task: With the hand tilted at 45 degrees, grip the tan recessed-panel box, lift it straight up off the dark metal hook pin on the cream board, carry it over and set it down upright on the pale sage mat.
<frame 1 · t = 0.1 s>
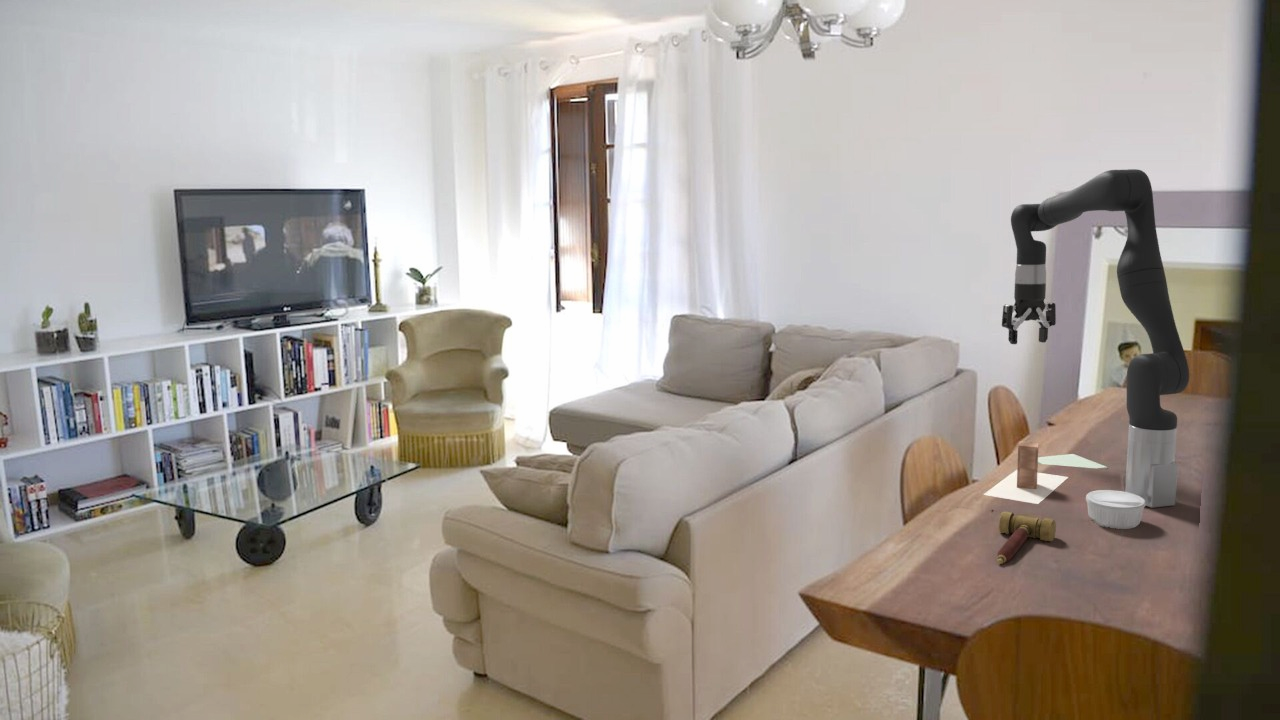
hand: (1028, 343, 247), 29 cm above the table, tool pointing down, fingers open, 8 cm apart
gavel: (1015, 551, 184), on the table
hook board: (1026, 489, 219), on the table
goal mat: (1067, 464, 238), on the table
ramekin: (1113, 523, 197), on the table
tan recessed-panel box: (1026, 485, 219), point 1 cm above the table, touching hook board
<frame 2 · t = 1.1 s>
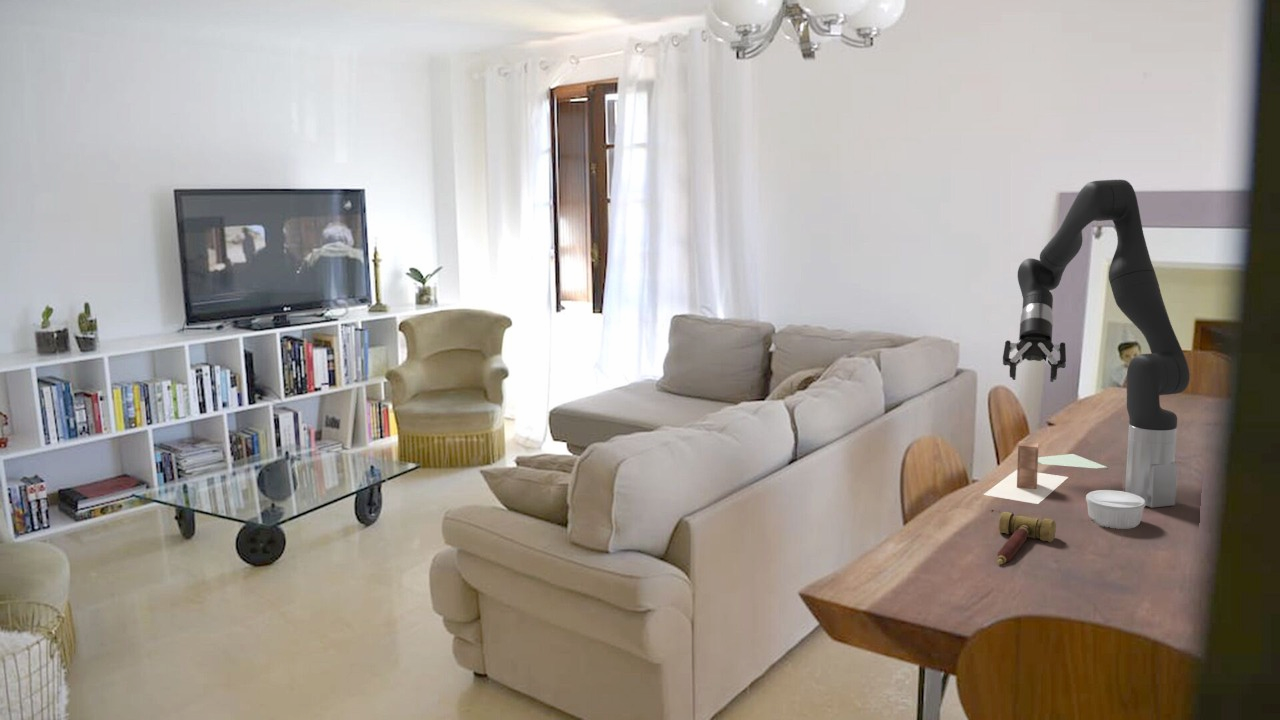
hand: (1032, 379, 227), 24 cm above the table, tool tilted 45°, fingers open, 8 cm apart
nothing on the table moved.
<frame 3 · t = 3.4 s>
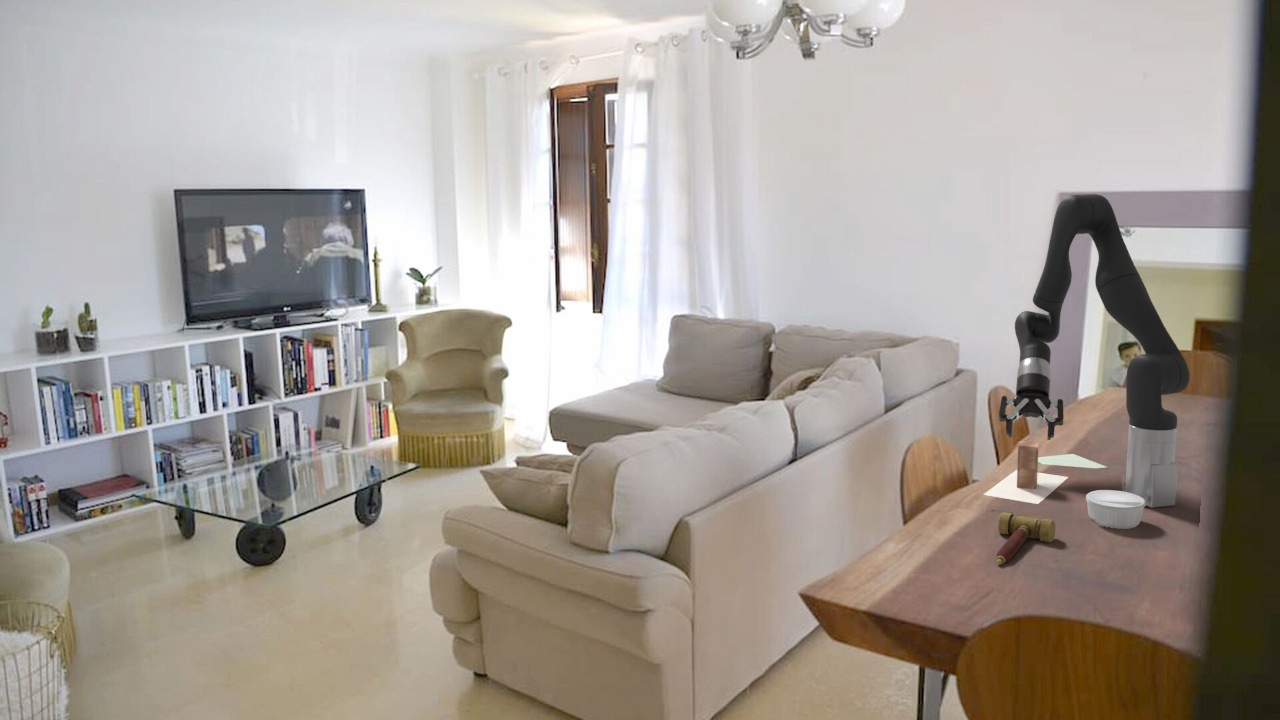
hand: (1029, 436, 222), 11 cm above the table, tool tilted 45°, fingers open, 8 cm apart
nothing on the table moved.
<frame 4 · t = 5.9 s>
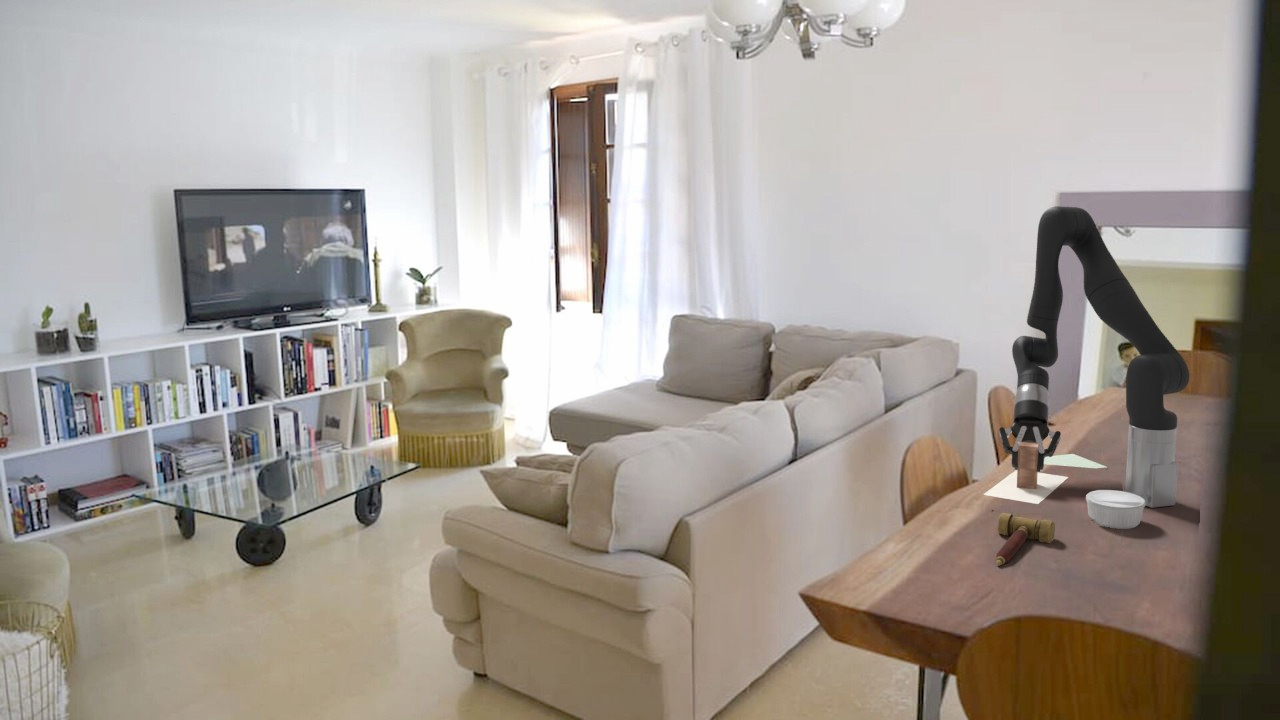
hand: (1027, 469, 216), 6 cm above the table, tool tilted 45°, fingers closed on tan recessed-panel box, 4 cm apart
tan recessed-panel box: (1026, 485, 219), point 1 cm above the table, touching gripper, hook board
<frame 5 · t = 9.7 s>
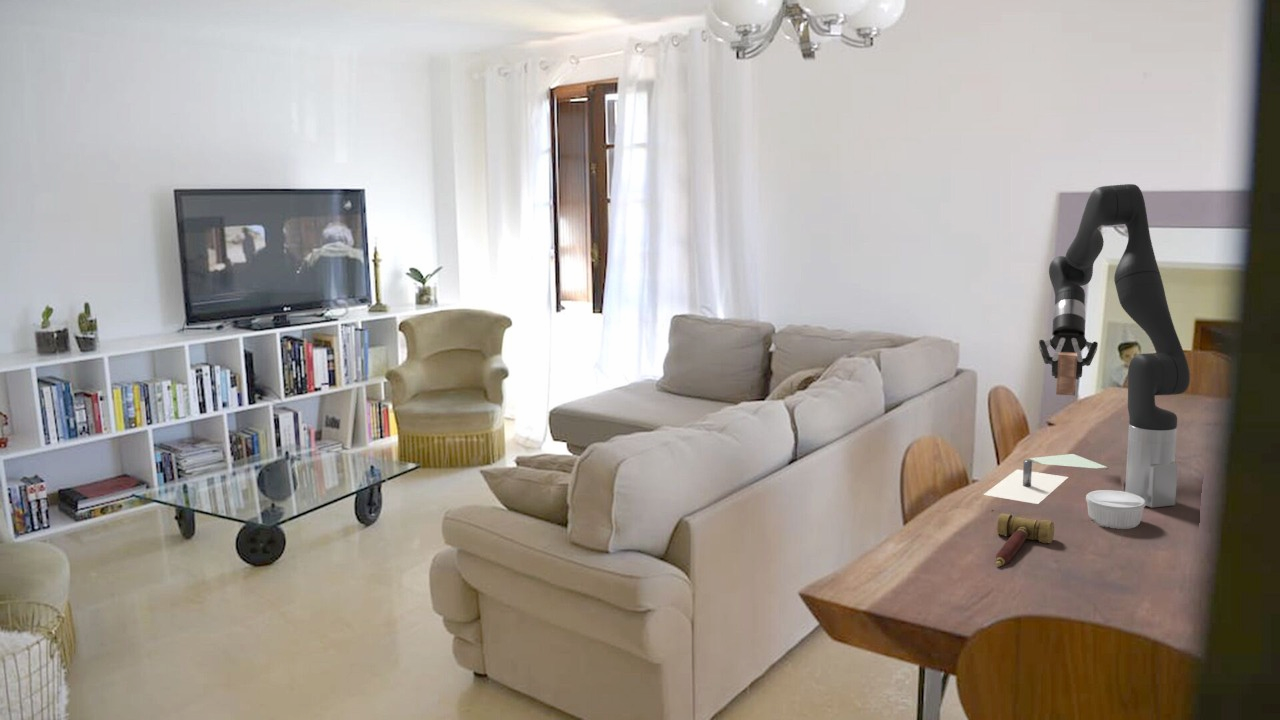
hand: (1066, 376, 231), 23 cm above the table, tool tilted 45°, fingers closed on tan recessed-panel box, 4 cm apart
tan recessed-panel box: (1065, 393, 233), point 19 cm above the table, touching gripper
when the fingers open (6 cm above the table, at t = 12.8 s): tan recessed-panel box drops 1 cm, resting on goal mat.
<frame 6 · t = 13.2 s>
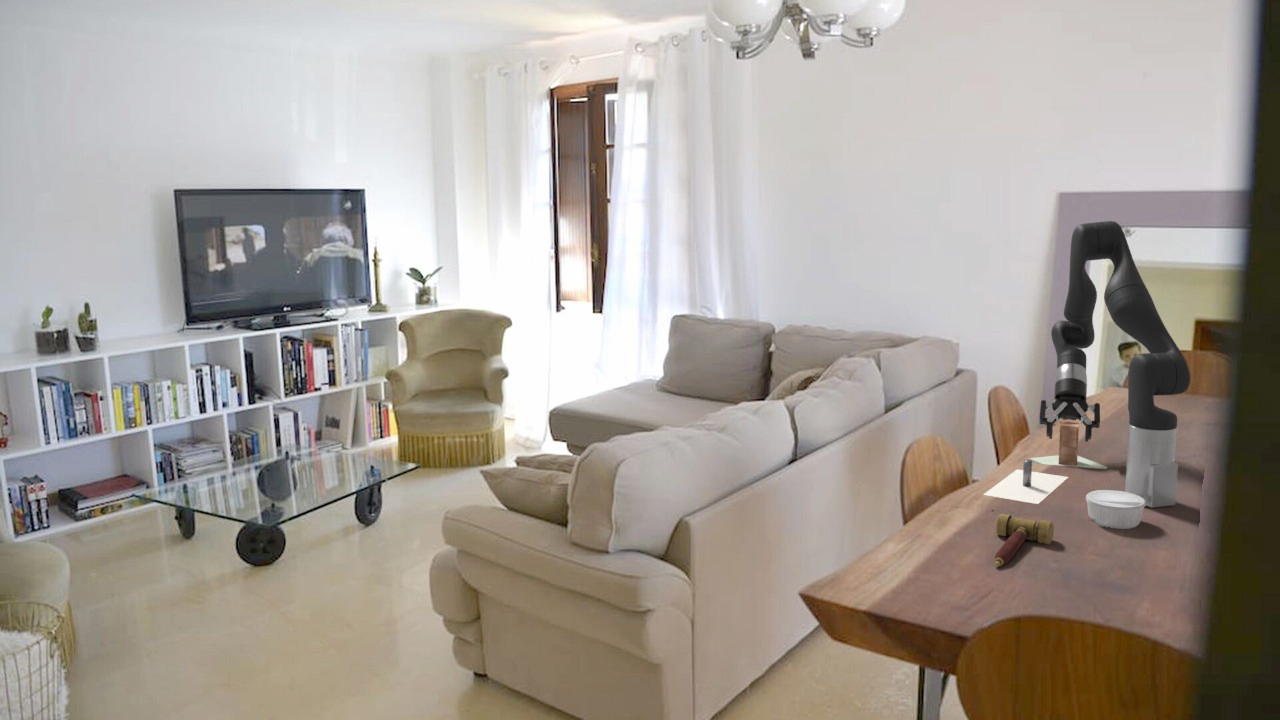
hand: (1068, 438, 235), 7 cm above the table, tool tilted 45°, fingers open, 8 cm apart
tan recessed-panel box: (1067, 462, 238), resting on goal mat
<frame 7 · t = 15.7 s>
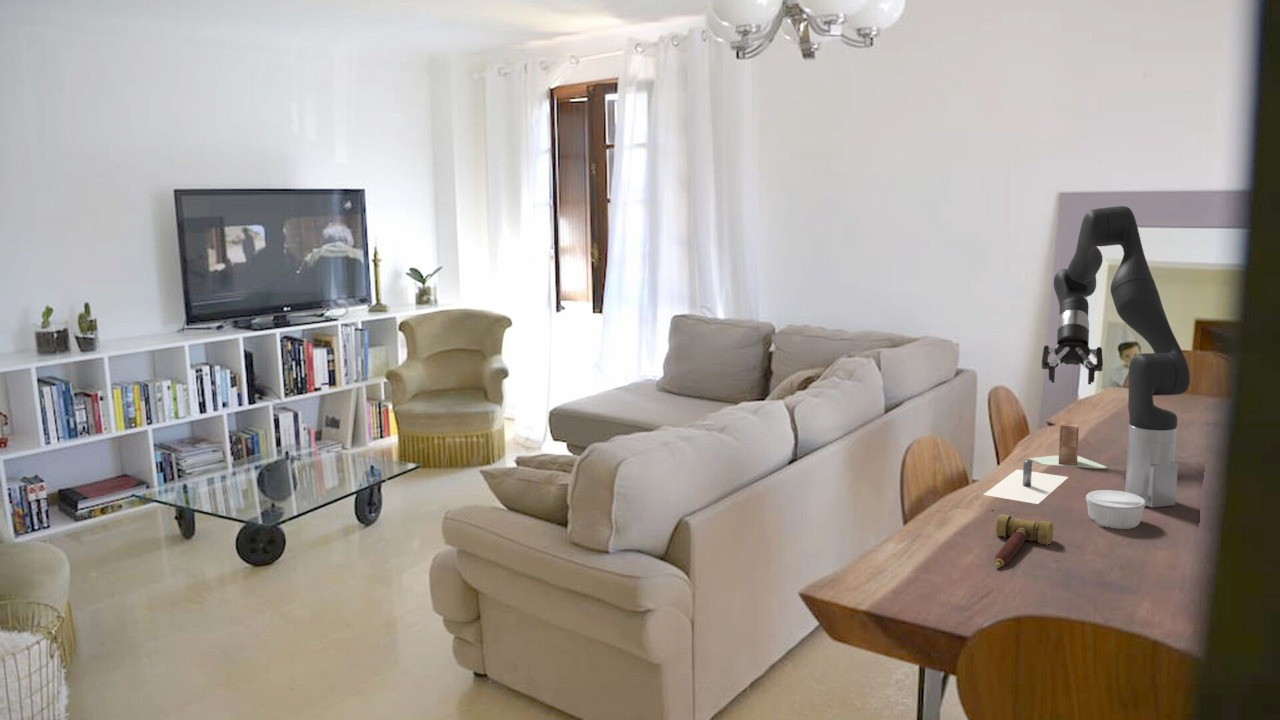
hand: (1071, 381, 238), 20 cm above the table, tool tilted 45°, fingers open, 8 cm apart
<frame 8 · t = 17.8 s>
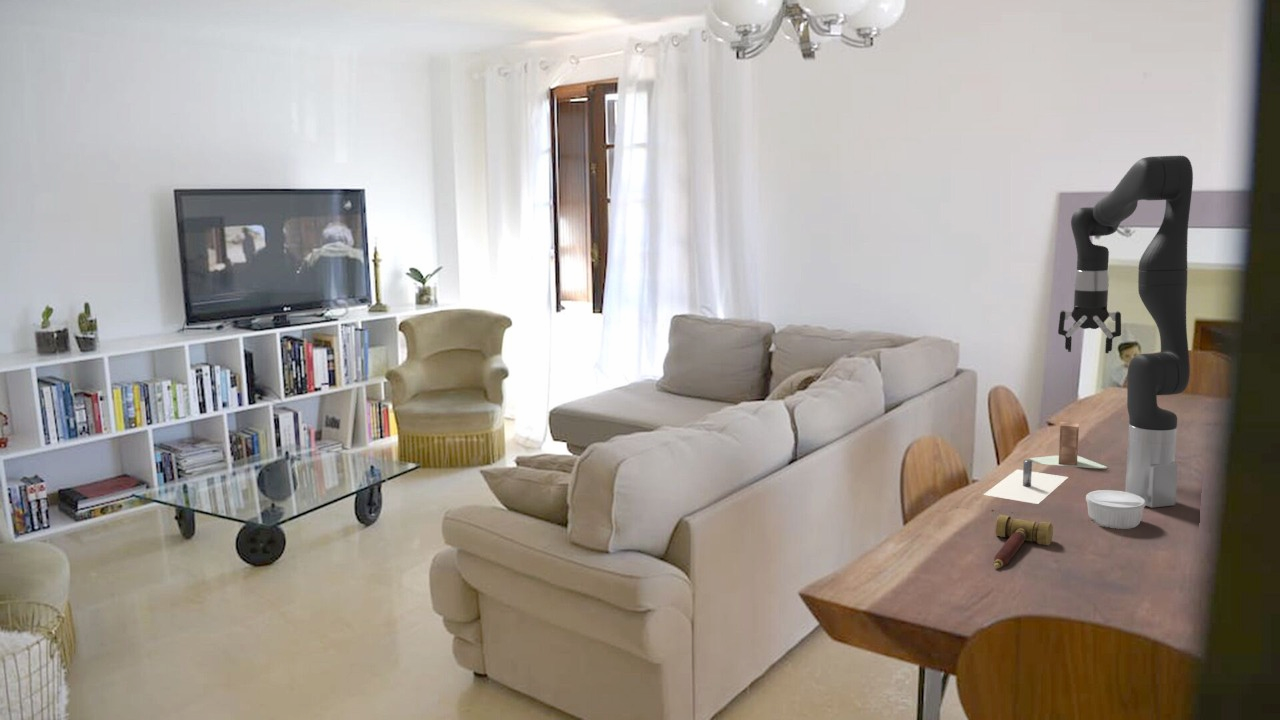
hand: (1088, 352, 236), 28 cm above the table, tool pointing down, fingers open, 8 cm apart
at the end: tan recessed-panel box inside the target area on the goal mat (0.1 cm from its centre), point 0.4 cm above the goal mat's base; tan recessed-panel box tilted 0°; the gripper is holding nothing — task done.
